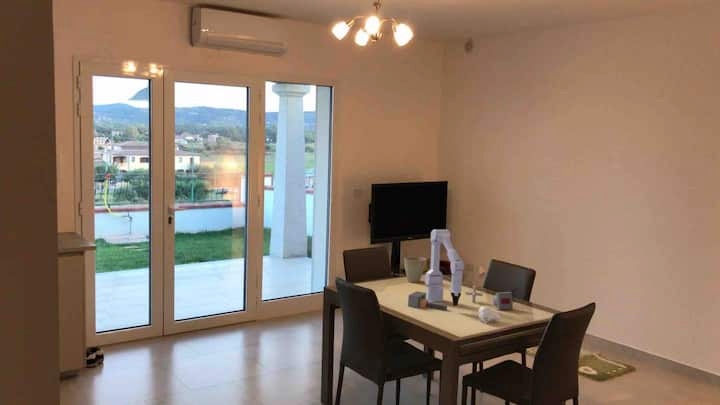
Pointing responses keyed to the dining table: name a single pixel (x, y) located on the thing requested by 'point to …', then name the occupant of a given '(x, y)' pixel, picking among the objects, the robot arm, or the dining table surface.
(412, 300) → the housing
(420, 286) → the dining table surface
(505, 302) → the voltmeter
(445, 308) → the plug
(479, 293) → the toy jack
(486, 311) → the white lumpy piece
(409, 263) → the plant pot
